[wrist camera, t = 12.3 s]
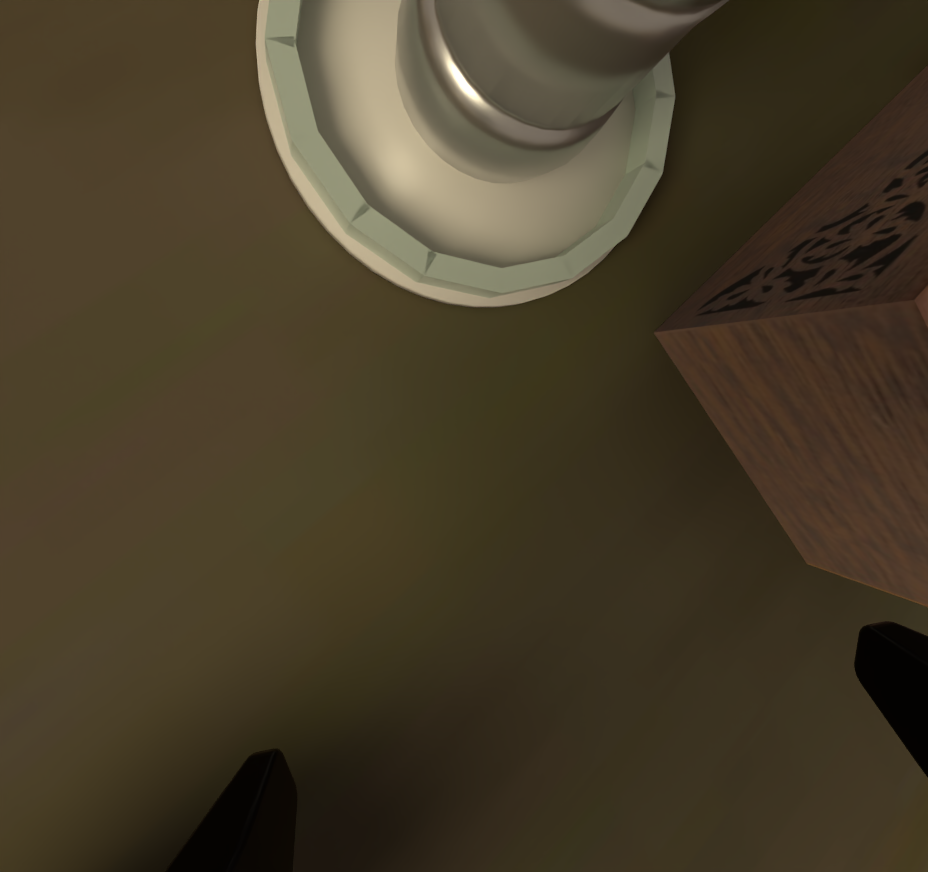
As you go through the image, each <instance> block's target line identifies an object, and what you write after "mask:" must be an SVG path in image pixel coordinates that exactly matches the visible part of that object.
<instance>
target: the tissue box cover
mask: <svg viewBox="0 0 928 872" xmlns="http://www.w3.org/2000/svg"><path fill="white" fill-rule="evenodd" d="M654 334H655V336H656V337H657V339H658V340H659V342H660V343H661V345H662V346H663V348H664V349H665V351H666V352H667V354H668V355H669V357H670V358H671V360H672V361H673V363H674V364H675V366H676V367H677V369H678V370H679V372H680V373H681V375H682V376H683V378H684V379H685V381H686V382H687V384H688V385H689V387H690V388H691V390H692V391H693V393H694V394H695V396H696V397H697V399H698V400H699V402H700V403H701V405H702V406H703V408H704V409H705V411H706V412H707V414H708V415H709V417H710V418H711V420H712V421H713V423H714V425H715V426H716V428H717V429H718V431H719V432H720V434H721V435H722V437H723V438H724V440H725V441H726V443H727V444H728V446H729V447H730V449H731V450H732V452H733V453H734V455H735V456H736V458H737V459H738V461H739V462H740V464H741V465H742V467H743V468H744V470H745V471H746V473H747V474H748V476H749V477H750V479H751V480H752V482H753V483H754V485H755V486H756V488H757V489H758V491H759V492H760V494H761V495H762V497H763V498H764V500H765V501H766V503H767V504H768V506H769V507H770V509H771V510H772V512H773V513H774V515H775V516H776V518H777V519H778V521H779V523H780V524H781V526H782V527H783V529H784V530H785V532H786V533H787V535H788V536H789V538H790V539H791V541H792V542H793V544H794V545H795V547H796V548H797V550H798V551H799V553H800V554H801V556H802V557H803V559H804V560H805V562H806V563H807V564H809V565H812V566H814V567H817V568H820V569H823V570H826V571H828V572H831V573H834V574H837V575H840V576H842V577H845V578H848V579H851V580H854V581H856V582H859V583H862V584H865V585H868V586H871V587H873V588H876V589H879V590H882V591H885V592H887V593H890V594H893V595H896V596H899V597H901V598H904V599H907V600H910V601H913V602H915V603H918V604H921V605H924V606H927V607H928V65H927V66H926V67H925V68H924V69H923V70H922V71H921V72H920V73H919V74H918V75H917V76H916V77H915V78H914V79H913V80H912V81H911V82H910V83H909V84H908V85H907V86H906V87H905V88H904V89H902V90H901V91H900V92H899V93H898V94H897V95H896V96H895V97H894V98H893V99H892V100H891V101H890V102H889V103H888V104H887V105H886V106H885V107H884V108H883V109H882V110H881V111H880V112H879V113H878V114H877V115H876V116H875V117H874V118H873V119H872V120H871V121H870V122H869V123H868V124H867V125H866V126H865V127H864V128H863V129H861V130H860V131H859V132H858V133H857V134H856V135H855V136H854V137H853V138H852V139H851V140H850V141H849V142H848V143H847V144H846V145H845V146H844V147H843V148H842V149H841V150H840V151H839V152H838V153H837V154H836V155H835V156H834V157H833V158H832V159H831V160H830V161H829V162H828V163H827V164H826V165H825V166H824V167H823V168H822V169H821V170H819V171H818V172H817V173H816V174H815V175H814V176H813V177H812V178H811V179H810V180H809V181H808V182H807V183H806V184H805V185H804V186H803V187H802V188H801V189H800V190H799V191H798V192H797V193H796V194H795V195H794V196H793V197H792V198H791V199H790V200H789V201H788V202H787V203H786V204H785V205H784V206H783V207H782V208H781V209H780V210H779V211H777V212H776V213H775V214H774V215H773V216H772V217H771V218H770V219H769V220H768V221H767V222H766V223H765V224H764V225H763V226H762V227H761V228H760V229H759V230H758V231H757V232H756V233H755V234H754V235H753V236H752V237H751V238H750V239H749V240H748V241H747V242H746V243H745V244H744V245H743V246H742V247H741V248H740V249H739V250H738V251H737V252H735V253H734V254H733V255H732V256H731V257H730V258H729V259H728V260H727V261H726V262H725V263H724V264H723V265H722V266H721V267H720V268H719V269H718V270H717V271H716V272H715V273H714V274H713V275H712V276H711V277H710V278H709V279H708V280H707V281H706V282H705V283H704V284H703V285H702V286H701V287H700V288H699V289H698V290H697V291H696V292H694V293H693V294H692V295H691V296H690V297H689V298H688V299H687V300H686V301H685V302H684V303H683V304H682V305H681V306H680V307H679V308H678V309H677V310H676V311H675V312H674V313H673V314H672V315H671V316H670V317H669V318H668V319H667V320H666V321H665V322H664V323H663V324H662V325H661V326H660V327H659V328H658V329H657V330H656V331H655V332H654Z"/></svg>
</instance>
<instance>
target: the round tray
mask: <svg viewBox="0 0 928 872" xmlns="http://www.w3.org/2000/svg"><path fill="white" fill-rule="evenodd" d="M400 4H401V0H259V5H258V10H257V30H256V52H257V65H258V77H259V88H260V93H261V97H262V102H263V107H264V112H265V117H266V121H267V124H268V127H269V130H270V133H271V136H272V139H273V142H274V145H275V147H276V150H277V153H278V155H279V157H280V159H281V161H282V163H283V165H284V167H285V170H286V172H287V174H288V176H289V178H290V180H291V182H292V183H293V185H294V187H295V188H296V190H297V191H298V193H299V195H300V196H301V198H302V199H303V201H304V203H305V204H306V206H307V207H308V209H309V210H310V211H311V213H312V214H313V215H314V216H315V218H316V219H317V220H318V221H319V223H320V224H321V225H322V226H323V227H324V229H325V230H326V231H327V232H328V233H329V234H330V235H331V236H332V237H333V238H334V239H335V240H336V241H337V242H338V243H339V244H340V245H341V246H342V247H343V248H344V249H345V250H346V251H347V252H348V253H349V254H350V255H351V256H353V257H354V258H355V259H356V260H358V261H359V262H360V263H362V264H363V265H364V266H366V267H367V268H368V269H369V270H371V271H372V272H374V273H375V274H377V275H379V276H380V277H382V278H384V279H385V280H387V281H389V282H390V283H392V284H394V285H396V286H397V287H400V288H402V289H404V290H407V291H409V292H411V293H414V294H416V295H418V296H420V297H423V298H427V299H430V300H434V301H437V302H441V303H445V304H449V305H456V306H464V307H471V308H496V307H503V306H510V305H517V304H521V303H524V302H528V301H531V300H534V299H538V298H541V297H544V296H547V295H550V294H552V293H554V292H556V291H558V290H560V289H562V288H565V287H567V286H569V285H570V284H572V283H573V282H575V281H576V280H578V279H579V278H581V277H582V276H584V275H585V274H587V273H588V272H589V271H591V270H592V269H593V268H594V267H595V266H596V265H597V264H598V263H600V262H601V261H602V260H603V259H604V258H605V257H606V256H607V255H608V254H609V252H610V251H611V250H612V249H613V248H614V247H615V245H616V244H618V243H619V242H620V241H622V240H623V239H624V238H626V237H627V236H628V234H629V232H630V230H631V229H632V227H633V225H634V223H635V222H636V220H637V218H638V216H639V214H640V213H641V211H642V209H643V207H644V206H645V204H646V202H647V200H648V198H649V197H650V195H651V193H652V191H653V190H654V188H655V186H656V184H657V183H658V181H659V179H660V177H661V175H662V174H663V168H664V162H665V156H666V150H667V144H668V138H669V132H670V126H671V120H672V114H673V108H674V102H675V91H674V84H673V77H672V70H671V63H670V56H669V53H668V54H667V55H666V56H665V57H664V58H663V59H662V60H661V61H660V62H659V63H658V64H657V65H656V66H655V67H654V68H653V69H652V70H651V71H650V72H649V73H648V74H647V75H646V76H645V77H644V78H643V79H642V80H641V81H640V82H639V83H638V84H637V85H636V86H635V87H634V88H633V89H632V90H631V91H630V92H629V93H628V94H627V95H626V96H625V97H624V98H623V100H622V102H621V103H620V104H619V106H618V107H617V109H616V110H615V112H614V113H613V114H612V116H611V117H610V118H609V120H608V121H607V122H606V123H605V125H604V126H603V127H602V128H601V130H600V131H599V132H598V133H597V134H596V135H595V136H594V138H593V139H592V140H591V141H590V142H589V143H588V144H587V145H586V146H585V148H584V149H583V150H582V151H581V152H580V153H579V154H578V155H576V156H575V157H574V158H573V159H571V160H570V161H569V162H568V163H566V164H565V165H563V166H561V167H559V168H557V169H554V170H552V171H550V172H548V173H545V174H542V175H540V176H537V177H534V178H532V179H529V180H525V181H520V182H516V183H491V182H487V181H483V180H479V179H475V178H473V177H471V176H469V175H466V174H464V173H462V172H460V171H458V170H456V169H455V168H454V167H452V166H451V165H449V164H448V163H446V162H445V161H444V160H442V159H441V158H440V157H439V156H438V155H437V154H436V153H435V152H434V151H433V150H432V149H431V148H430V147H429V146H428V145H427V144H426V143H425V141H424V140H423V139H422V137H421V136H420V134H419V133H418V132H417V130H416V129H415V128H414V126H413V124H412V122H411V120H410V118H409V116H408V114H407V112H406V110H405V108H404V105H403V102H402V99H401V95H400V92H399V89H398V85H397V77H396V69H395V55H396V39H397V23H398V11H399V7H400Z"/></svg>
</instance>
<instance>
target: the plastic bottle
mask: <svg viewBox="0 0 928 872" xmlns="http://www.w3.org/2000/svg"><path fill="white" fill-rule="evenodd" d="M727 1H729V0H401V4H400V7H399V11H398V23H397V39H396V55H395V69H396V77H397V85H398V89H399V92H400V95H401V99H402V102H403V105H404V108H405V110H406V112H407V114H408V116H409V118H410V120H411V122H412V124H413V126H414V128H415V129H416V130H417V132H418V133H419V134H420V136H421V137H422V139H423V140H424V141H425V143H426V144H427V145H428V146H429V147H430V148H431V149H432V150H433V151H434V152H435V153H436V154H437V155H438V156H439V157H440V158H441V159H442V160H444V161H445V162H446V163H448V164H449V165H451V166H452V167H454V168H455V169H456V170H458V171H460V172H462V173H464V174H466V175H469V176H471V177H473V178H475V179H479V180H483V181H487V182H491V183H516V182H520V181H525V180H529V179H532V178H534V177H537V176H540V175H542V174H545V173H548V172H550V171H552V170H554V169H557V168H559V167H561V166H563V165H565V164H566V163H568V162H569V161H570V160H571V159H573V158H574V157H575V156H576V155H578V154H579V153H580V152H581V151H582V150H583V149H584V148H585V146H586V145H587V144H588V143H589V142H590V141H591V140H592V139H593V138H594V136H595V135H596V134H597V133H598V132H599V131H600V130H601V128H602V127H603V126H604V125H605V123H606V122H607V121H608V120H609V118H610V117H611V116H612V114H613V113H614V112H615V110H616V109H617V107H618V106H619V104H620V103H621V102H622V100H623V98H624V97H625V96H626V95H627V94H628V93H629V92H630V91H631V90H632V89H633V88H634V87H635V86H636V85H637V84H638V83H639V82H640V81H641V80H642V79H643V78H644V77H645V76H646V75H647V74H648V73H649V72H650V71H651V70H652V69H653V68H654V67H655V66H656V65H657V64H658V63H659V62H660V61H661V60H662V59H663V58H664V57H665V56H666V55H667V54H668V53H669V52H670V51H671V50H672V49H673V48H674V47H675V46H676V45H677V44H678V43H679V42H680V41H681V39H682V38H683V37H684V36H685V35H686V34H687V33H688V32H689V31H690V30H691V29H692V28H693V27H695V26H696V25H697V24H699V23H700V22H701V21H703V20H704V19H705V18H707V17H708V16H709V15H711V14H712V13H713V12H715V11H716V10H717V9H718V8H720V7H721V6H722V5H724V4H725V3H726V2H727Z"/></svg>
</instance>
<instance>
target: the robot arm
mask: <svg viewBox="0 0 928 872" xmlns="http://www.w3.org/2000/svg"><path fill="white" fill-rule="evenodd" d="M854 667H855V672H856V675H857V677H858V679H859V681H860V683H861V684H862V686H863V687H864V689H865V690H866V691H867V693H868V694H869V696H870V697H871V698H872V700H873V701H874V703H875V704H876V705H877V707H878V708H879V710H880V711H881V713H882V714H883V715H884V717H885V718H886V720H887V721H888V722H889V724H890V725H891V727H892V728H893V730H894V731H895V732H896V734H897V735H898V737H899V738H900V739H901V741H902V742H903V744H904V745H905V747H906V748H907V749H908V751H909V752H910V754H911V755H912V756H913V758H914V759H915V761H916V762H917V764H918V765H919V766H920V768H921V769H922V770H923V772H924V773H925V774H926V776H927V777H928V636H926V635H924V634H921V633H919V632H916V631H914V630H912V629H909V628H907V627H904V626H902V625H900V624H897V623H894V622H889V621H885V622H879V623H875V624H870V625H866V626H863V627H862V628H861V630H860V632H859V637H858V643H857V649H856V656H855V662H854ZM296 812H297V789H296V785H295V782H294V779H293V777H292V774H291V772H290V770H289V767H288V765H287V762H286V760H285V757H284V755H283V753H282V751H281V750H279V749H270V750H265V751H260V752H256V753H253V754H252V755H250V756H249V757H248V758H247V759H246V761H245V762H244V764H243V765H242V766H241V768H240V769H239V770H238V772H237V773H236V775H235V776H234V777H233V779H232V780H231V781H230V783H229V784H228V786H227V787H226V788H225V790H224V791H223V792H222V794H221V795H220V797H219V798H218V799H217V801H216V802H215V803H214V805H213V806H212V808H211V809H210V810H209V812H208V813H207V814H206V816H205V817H204V819H203V820H202V821H201V823H200V824H199V825H198V827H197V828H196V830H195V831H194V832H193V834H192V835H191V836H190V838H189V839H188V841H187V842H186V843H185V845H184V846H183V847H182V849H181V850H180V852H179V853H178V854H177V856H176V857H175V858H174V860H173V861H172V863H171V864H170V865H169V867H168V868H167V869H166V871H165V872H292V870H293V856H294V841H295V826H296Z"/></svg>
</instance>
